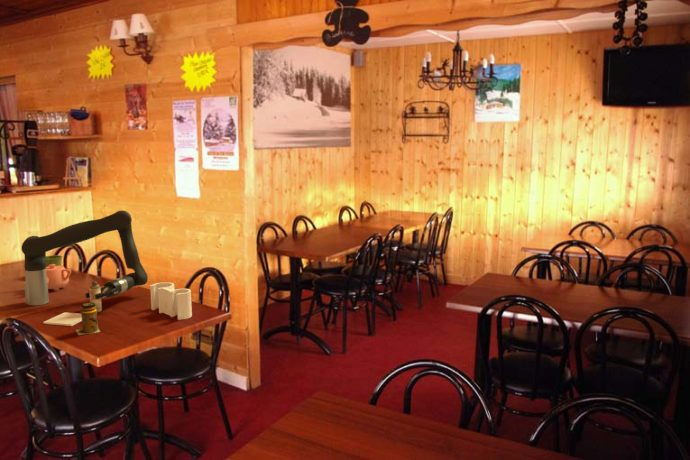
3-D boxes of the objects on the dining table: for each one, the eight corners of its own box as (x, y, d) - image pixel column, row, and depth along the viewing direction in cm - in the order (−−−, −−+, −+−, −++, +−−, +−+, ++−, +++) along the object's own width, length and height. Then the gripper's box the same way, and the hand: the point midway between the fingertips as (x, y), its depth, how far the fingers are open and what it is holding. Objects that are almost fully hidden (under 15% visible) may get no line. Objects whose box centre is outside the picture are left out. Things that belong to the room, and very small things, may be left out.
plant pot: (67, 273, 339) (66, 255, 337) (58, 278, 327) (56, 259, 325) (47, 273, 338) (46, 254, 336) (37, 278, 327) (35, 259, 325)
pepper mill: (88, 311, 263) (86, 281, 261) (94, 308, 268) (93, 279, 265) (97, 312, 262) (95, 282, 260) (103, 309, 267) (102, 280, 264)
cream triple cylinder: (196, 316, 263) (195, 290, 261) (178, 321, 256) (177, 295, 254) (168, 304, 280) (166, 281, 278) (149, 309, 272) (148, 284, 270)
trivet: (43, 323, 251) (43, 322, 250) (64, 313, 264) (64, 312, 264) (71, 326, 248) (71, 324, 248) (91, 316, 261) (91, 314, 261)
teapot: (43, 295, 294) (41, 269, 292) (31, 288, 305) (29, 264, 303) (75, 289, 306) (73, 264, 304) (62, 283, 317) (60, 259, 315)
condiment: (100, 332, 241) (98, 304, 239) (78, 335, 237) (76, 308, 235) (97, 327, 247) (95, 300, 245) (75, 330, 243) (73, 303, 241)
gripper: (103, 278, 279) (77, 287, 262) (127, 280, 275) (103, 290, 258) (103, 293, 280) (78, 302, 264) (128, 295, 276) (104, 305, 260)
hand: (91, 296), depth 261 cm, fingers closed on pepper mill, 4 cm apart
